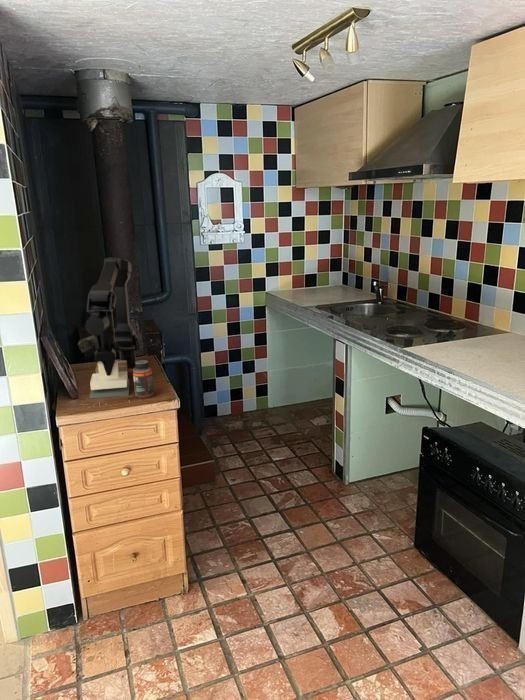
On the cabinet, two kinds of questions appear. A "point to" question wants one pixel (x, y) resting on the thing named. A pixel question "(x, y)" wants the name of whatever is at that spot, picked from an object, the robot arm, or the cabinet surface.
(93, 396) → the mat
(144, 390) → the supplement bottle
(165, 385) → the cabinet surface
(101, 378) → the lid
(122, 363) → the storage box
